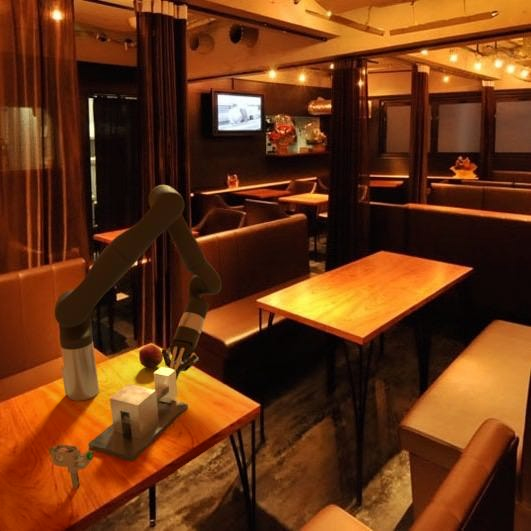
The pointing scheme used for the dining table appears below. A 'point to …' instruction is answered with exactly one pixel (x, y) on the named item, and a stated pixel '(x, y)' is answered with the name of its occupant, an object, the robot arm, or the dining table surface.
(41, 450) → the dining table surface
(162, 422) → the shaft housing
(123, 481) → the dining table surface
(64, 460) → the mechanical component
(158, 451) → the dining table surface
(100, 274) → the robot arm
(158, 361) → the fruit
